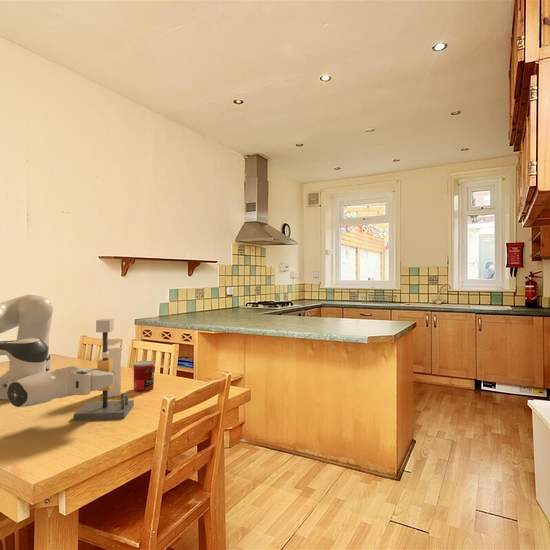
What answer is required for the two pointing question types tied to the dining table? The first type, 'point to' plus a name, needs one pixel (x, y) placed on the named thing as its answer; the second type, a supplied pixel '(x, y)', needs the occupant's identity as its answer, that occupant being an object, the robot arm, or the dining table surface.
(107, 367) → the sleeve
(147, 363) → the canned food
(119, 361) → the milk
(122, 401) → the stand
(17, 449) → the dining table surface
